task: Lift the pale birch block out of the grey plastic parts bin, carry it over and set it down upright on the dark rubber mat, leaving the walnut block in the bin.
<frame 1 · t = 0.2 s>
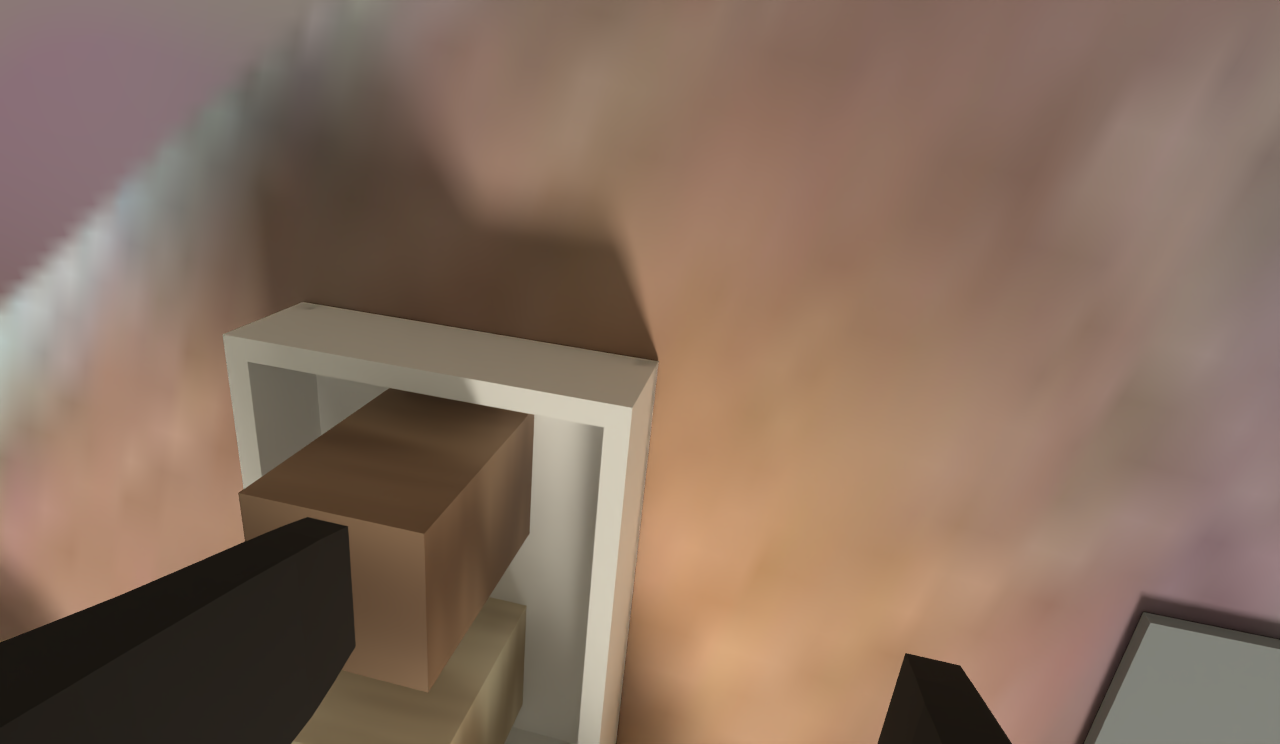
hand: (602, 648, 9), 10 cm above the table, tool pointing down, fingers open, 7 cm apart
walnut block: (464, 459, 20), resting on parts bin
birch block: (464, 642, 23), resting on parts bin
parts bin: (471, 546, 22), on the table
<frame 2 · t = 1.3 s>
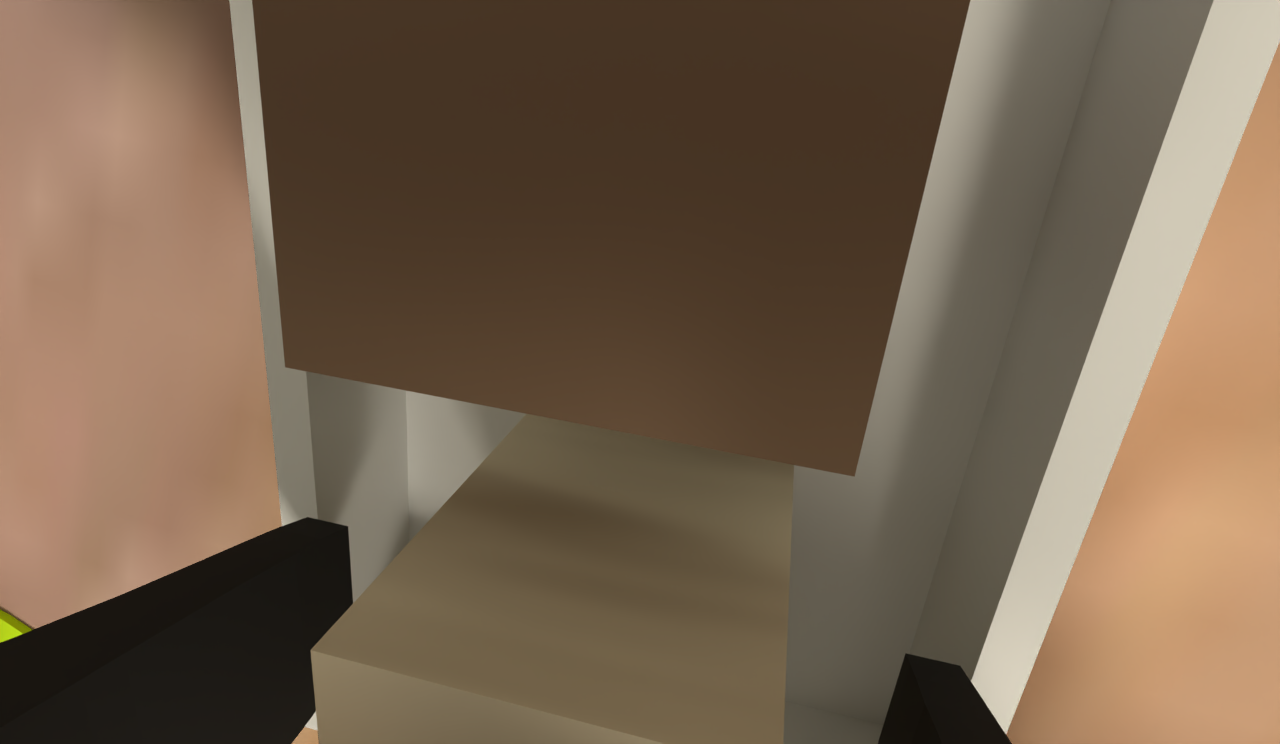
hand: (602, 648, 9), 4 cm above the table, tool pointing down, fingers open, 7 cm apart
walnut block: (706, 103, 10), resting on parts bin
birch block: (653, 521, 12), resting on parts bin
parts bin: (682, 326, 11), on the table
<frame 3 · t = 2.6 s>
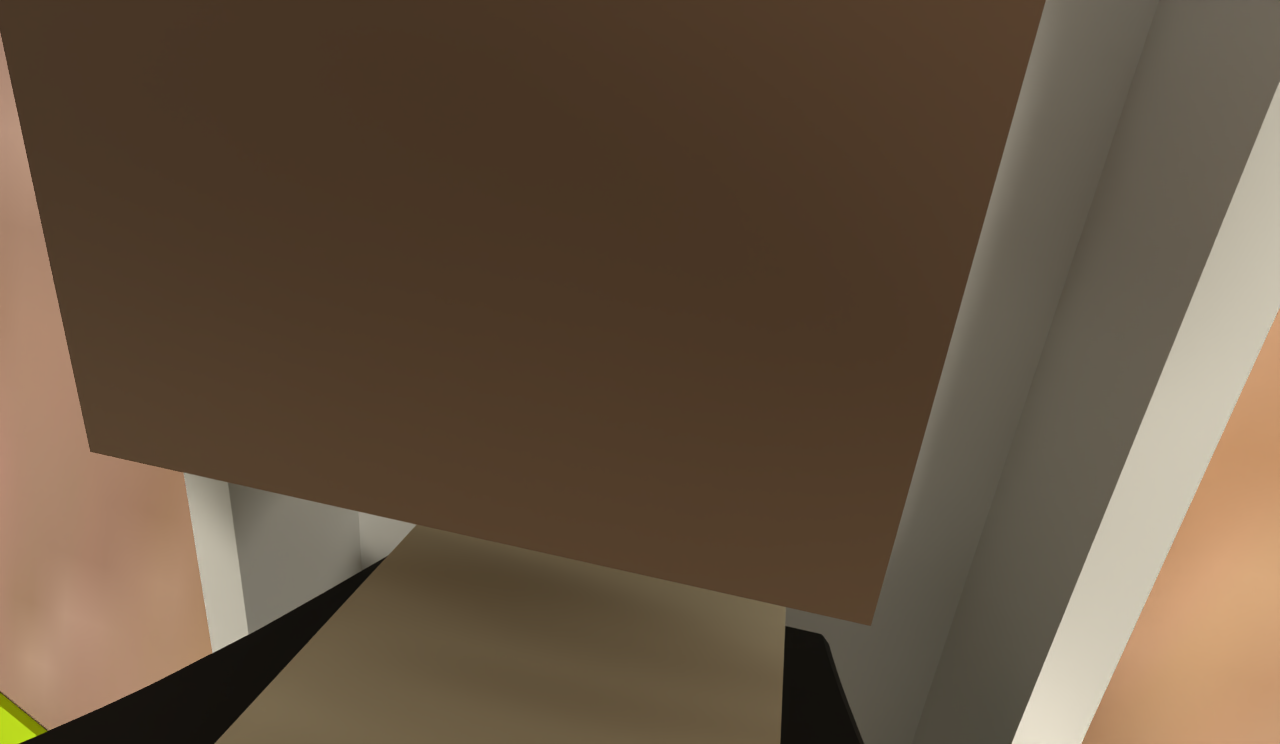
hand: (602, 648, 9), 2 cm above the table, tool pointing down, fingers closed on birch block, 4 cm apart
walnut block: (687, 95, 8), resting on parts bin
birch block: (632, 568, 11), resting on parts bin, touching gripper
parts bin: (663, 350, 10), on the table
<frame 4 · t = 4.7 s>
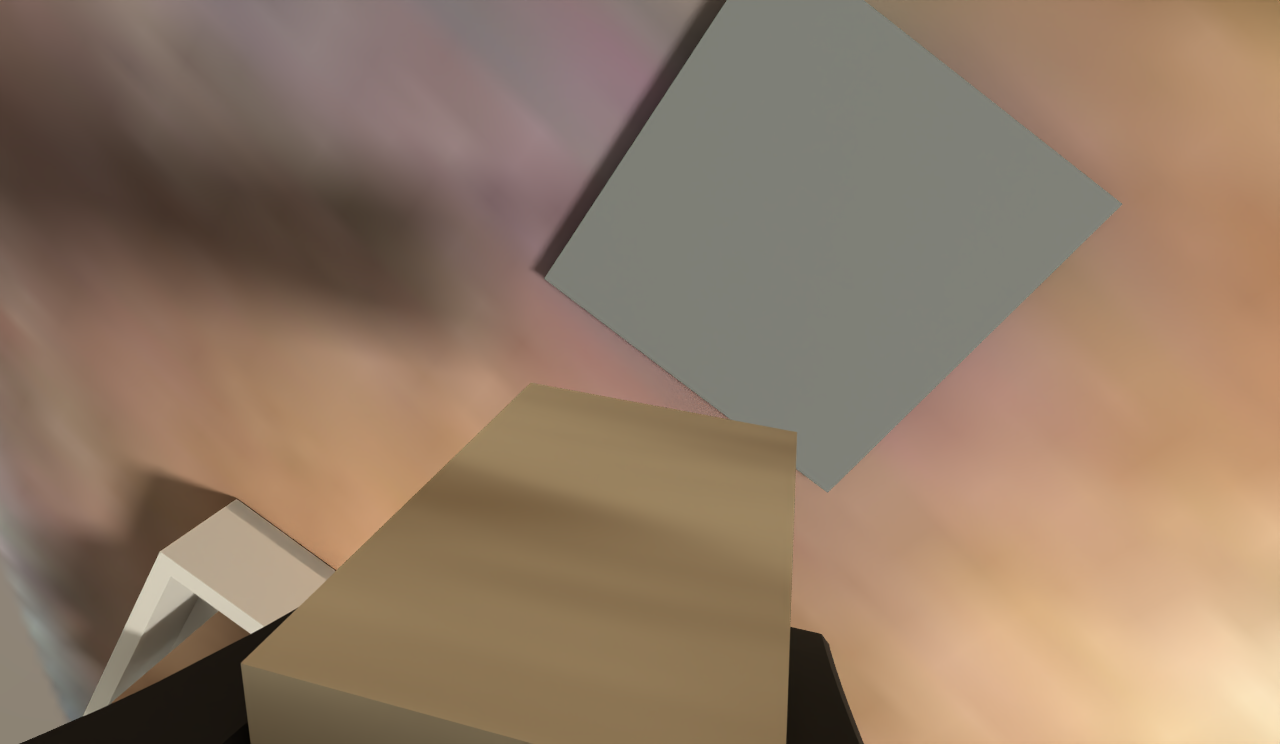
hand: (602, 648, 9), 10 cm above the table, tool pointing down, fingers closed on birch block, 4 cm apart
walnut block: (263, 663, 25), resting on parts bin
birch block: (645, 522, 11), point 8 cm above the table, touching gripper
parts bin: (348, 707, 26), on the table
rubber mat: (803, 242, 17), on the table
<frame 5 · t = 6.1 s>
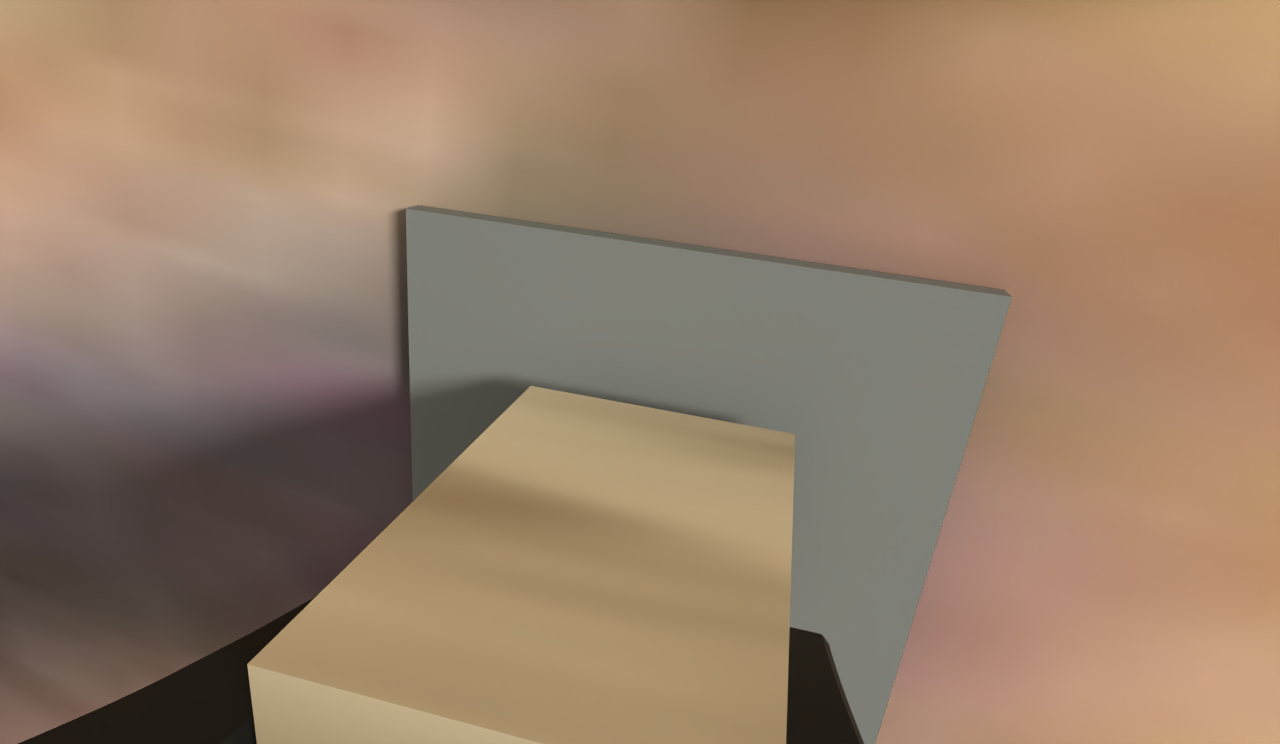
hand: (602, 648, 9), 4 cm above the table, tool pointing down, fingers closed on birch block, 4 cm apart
birch block: (644, 524, 11), point 1 cm above the table, touching gripper
rubber mat: (658, 498, 12), on the table
when the fingers open (4 cm above the table, at t = 6.9 s): birch block stays where it is, resting on rubber mat.
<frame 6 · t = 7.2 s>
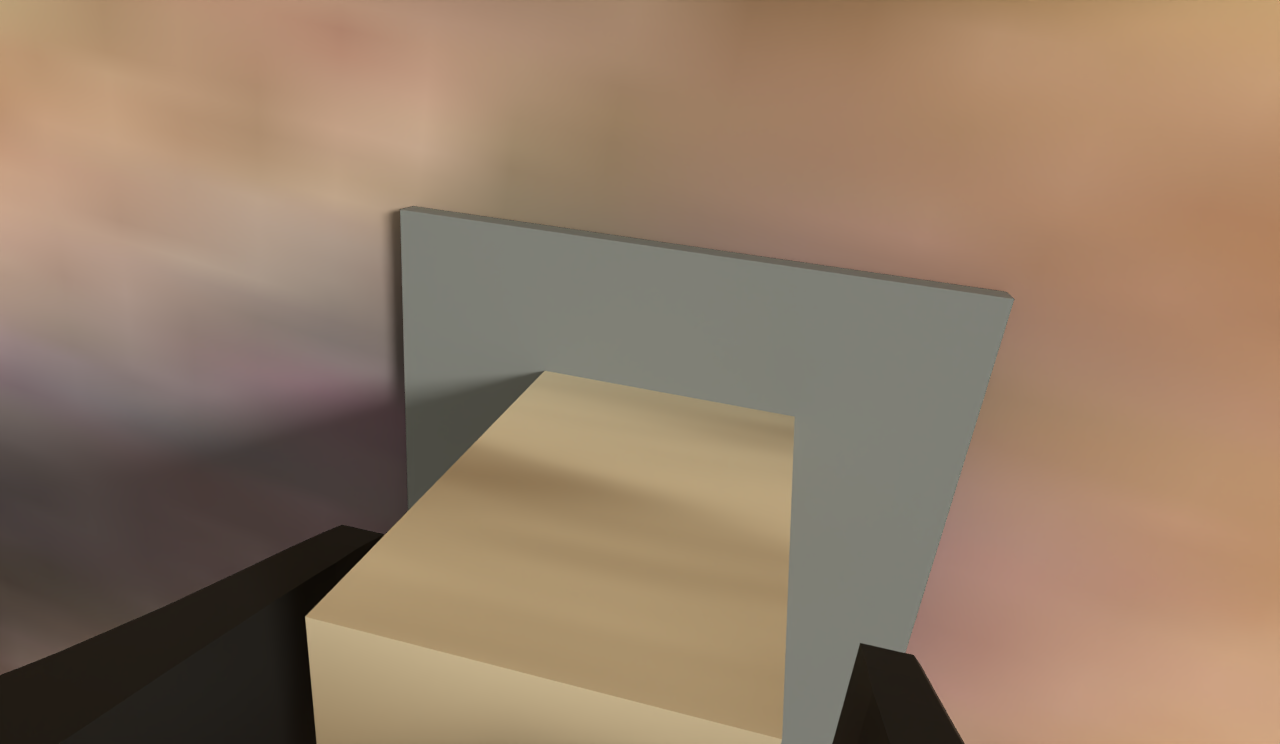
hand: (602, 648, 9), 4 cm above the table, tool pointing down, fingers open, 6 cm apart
birch block: (652, 502, 12), resting on rubber mat
rubber mat: (656, 502, 12), on the table
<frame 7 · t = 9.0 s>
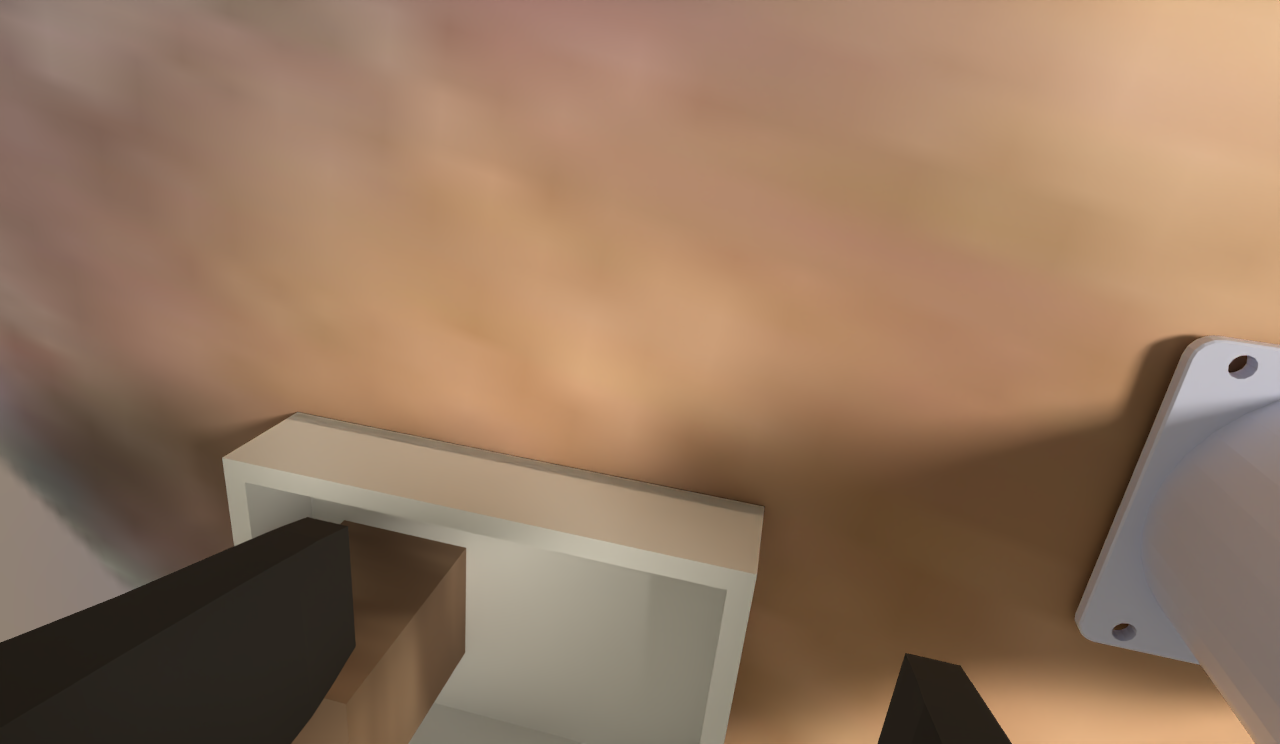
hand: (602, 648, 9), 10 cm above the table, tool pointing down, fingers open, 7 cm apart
walnut block: (406, 587, 22), resting on parts bin
parts bin: (511, 601, 22), on the table
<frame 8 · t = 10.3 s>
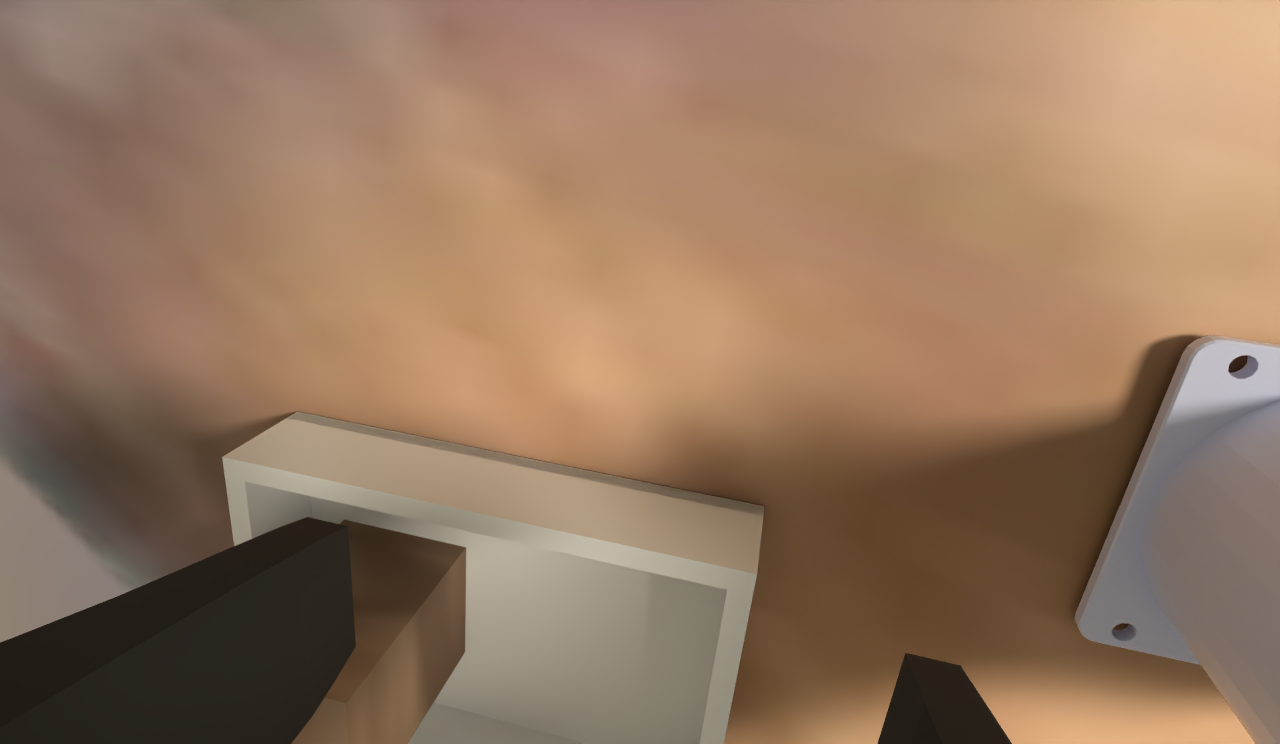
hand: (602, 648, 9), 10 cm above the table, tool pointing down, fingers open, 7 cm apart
walnut block: (405, 586, 22), resting on parts bin
parts bin: (511, 600, 22), on the table
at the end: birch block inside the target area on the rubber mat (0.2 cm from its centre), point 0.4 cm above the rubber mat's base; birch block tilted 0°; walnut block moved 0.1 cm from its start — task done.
